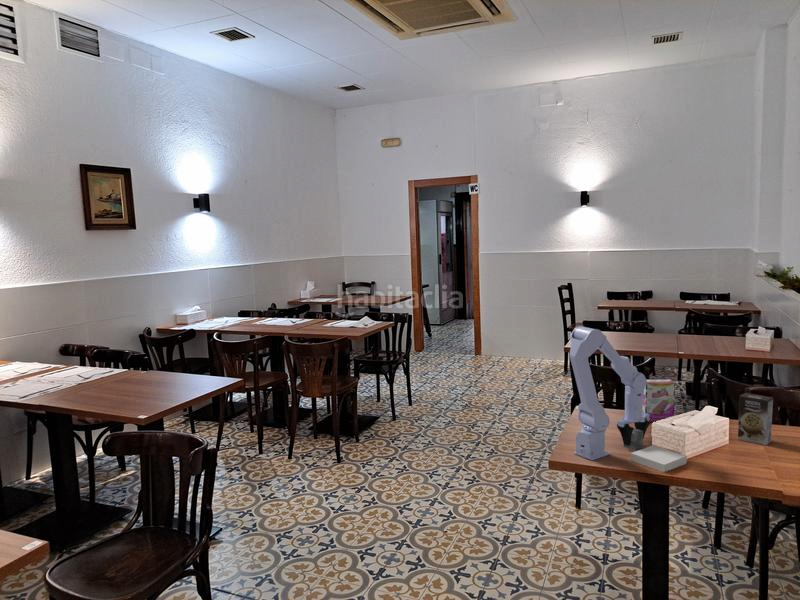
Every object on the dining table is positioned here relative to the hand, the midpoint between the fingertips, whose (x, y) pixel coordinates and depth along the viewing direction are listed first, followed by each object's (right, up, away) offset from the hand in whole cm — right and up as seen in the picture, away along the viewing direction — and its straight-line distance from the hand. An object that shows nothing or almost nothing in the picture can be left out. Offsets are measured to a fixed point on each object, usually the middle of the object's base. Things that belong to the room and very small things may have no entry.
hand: (633, 442), depth 198 cm
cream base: (+3, -3, -13) cm, 14 cm away
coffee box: (+44, 0, +3) cm, 44 cm away
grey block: (0, -2, 0) cm, 2 cm away
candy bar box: (+21, +2, +27) cm, 34 cm away
